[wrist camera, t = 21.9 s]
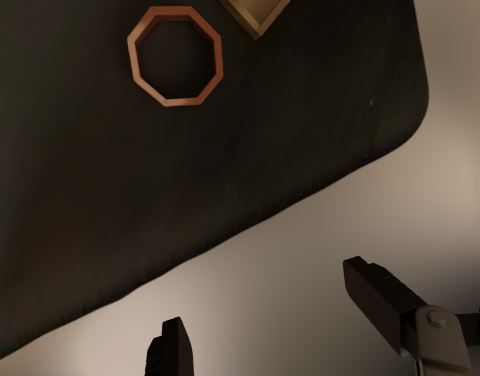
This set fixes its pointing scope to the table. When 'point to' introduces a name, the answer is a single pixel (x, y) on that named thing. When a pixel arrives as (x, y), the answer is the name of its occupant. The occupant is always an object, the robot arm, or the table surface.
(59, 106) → the table surface
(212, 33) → the orange octagonal ring
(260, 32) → the tray
